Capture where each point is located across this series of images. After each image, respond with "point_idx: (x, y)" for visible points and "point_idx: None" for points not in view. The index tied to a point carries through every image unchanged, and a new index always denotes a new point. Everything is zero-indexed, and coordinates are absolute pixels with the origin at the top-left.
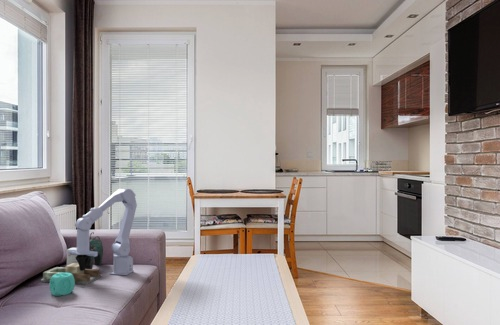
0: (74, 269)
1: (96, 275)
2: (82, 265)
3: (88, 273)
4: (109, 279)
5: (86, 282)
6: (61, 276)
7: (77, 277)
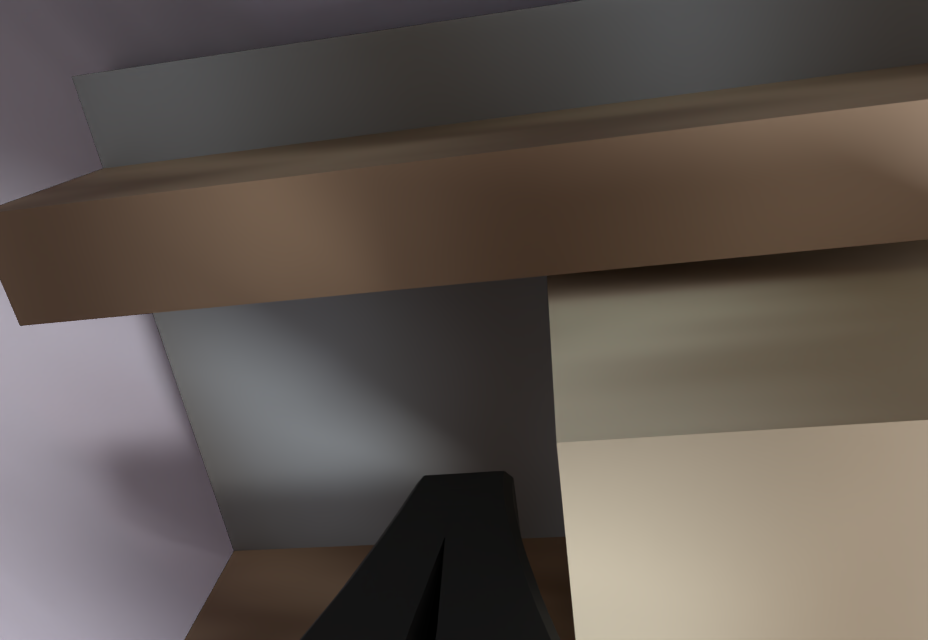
0: (675, 362)
1: (258, 565)
2: (344, 609)
3: None
4: (8, 527)
5: (81, 85)
6: None
7: (409, 142)
